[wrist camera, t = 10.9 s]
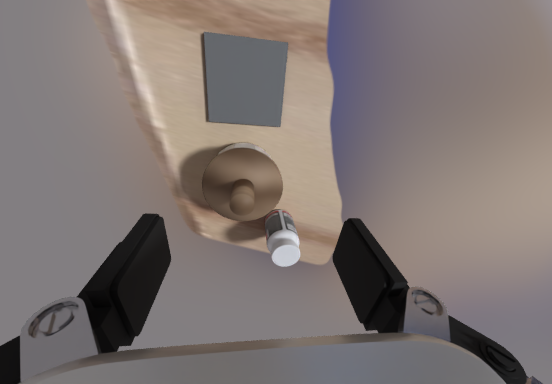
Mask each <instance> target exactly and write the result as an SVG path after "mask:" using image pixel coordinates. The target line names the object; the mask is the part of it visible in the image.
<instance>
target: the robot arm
mask: <svg viewBox="0 0 552 384" xmlns="http://www.w3.org/2000/svg"><path fill="white" fill-rule="evenodd" d="M170 262H171V254H170V249H169V244H168V240H167V235H166V230H165V226H164V220H163V218H162V217H159V215H158V214H143V215H142V217H141V218H140V219H139V220H138V222H137V223H136V224H135V226H134V227H133V228H132V230H131V231H130V232H129V234H128V235H127V236H126V237H125V239H124V240H123V241H122V242H120V243H119V244H118V245H117V246H116V247H115V249H114V250H113V251H112V252H111V254H110V255H109V256H108V257H107V259H106V260H105V261H104V263H103V264H102V265H101V266H100V268H99V269H98V270H97V272H96V273H95V274H94V275H93V277H92V278H91V279H90V280H89V282H88V283H87V285H86V286H85V287H84V288H83V289H82V291H81V292H80V293H79V295H78V296H77V297H68V298H62V299H59V300H57V301H54V302H52V303H50V304H48V305H46V306H45V307H43V308H41V309H40V310H39V311H37V312H36V313H34V314H33V315H32V316H31V318H29V319H28V320H27V322H26V323H25V325H24V326H23V328H22V330H21V334H20V336H18V337H16V338H14V339H12V340H11V341H9V342H7V343H5V344H3V345H1V346H0V384H542V383H541V382H540V381H538V380H537V379H536V378H534V377H533V376H532V377H530V378H529V377H527V376H526V373H525V371H524V369H523V367H522V366H521V364H520V363H519V362H518V360H517V359H516V358H515V357H514V356H513V355H512V354H511V353H510V352H509V351H507V350H506V349H505V348H504V347H502V346H501V345H499V344H498V343H496V342H495V341H493V340H491V339H489V338H487V337H486V336H484V335H482V334H481V333H479V332H477V331H475V330H474V329H472V328H470V327H468V326H467V325H465V324H463V323H461V322H460V321H458V320H456V319H454V318H453V317H451V316H449V315H448V312H447V309H446V307H445V305H444V303H443V302H442V301H441V300H440V299H439V298H438V297H437V296H436V295H434V294H433V293H432V292H430V291H428V290H426V289H424V288H421V287H411V288H409V286H408V285H407V283H408V282H407V281H406V279H405V278H404V276H403V275H402V274H401V273H400V272H399V270H398V269H397V267H396V266H395V265H394V263H393V262H392V261H391V259H390V258H389V257H388V255H387V254H386V253H385V251H384V250H383V249H382V247H381V246H380V245H379V243H378V242H377V241H376V239H375V238H374V237H373V235H372V234H371V233H370V231H369V230H368V229H367V228H366V226H365V225H364V223H363V222H362V221H361V220H360V219H358V218H349V219H348V220H347V221H345V222H344V224H343V227H342V230H341V233H340V236H339V239H338V242H337V245H336V248H335V251H334V253H333V263H334V265H335V267H336V269H337V272H338V274H339V276H340V279H341V281H342V283H343V285H344V287H345V290H346V292H347V295H348V297H349V299H350V301H351V304H352V306H353V308H354V311H355V313H356V315H357V318H358V320H359V321H360V323H363V325H364V327H365V329H366V331H369V330H377V331H378V333H373V334H352V335H335V336H318V337H302V338H286V339H271V340H256V341H243V342H226V343H212V344H198V345H184V346H170V347H159V348H148V349H137V350H126V351H119V352H117V350H118V348H119V346H131V344H132V342H133V340H134V337H135V336H138V335H139V334H140V332H141V331H142V328H143V326H144V324H145V321H146V319H147V316H148V314H149V311H150V309H151V307H152V305H153V302H154V300H155V298H156V295H157V293H158V291H159V288H160V286H161V284H162V281H163V279H164V277H165V274H166V272H167V269H168V267H169V265H170Z"/></svg>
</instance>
